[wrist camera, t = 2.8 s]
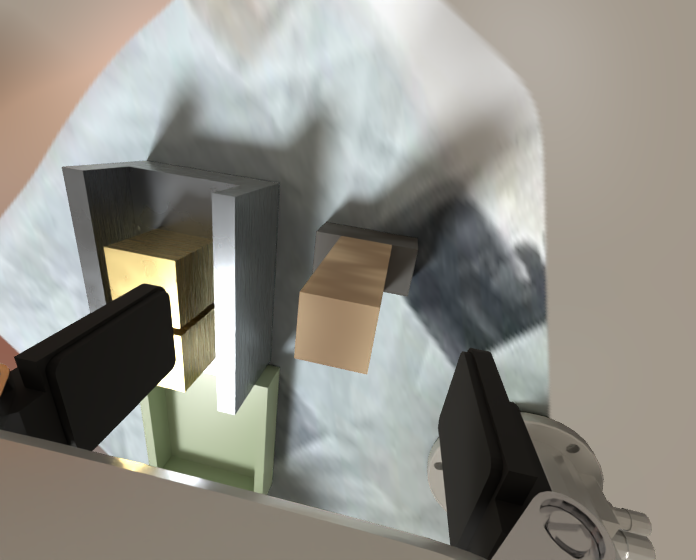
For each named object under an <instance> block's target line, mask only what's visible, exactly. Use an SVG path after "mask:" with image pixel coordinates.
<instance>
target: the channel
mask: <svg viewBox="0 0 696 560" xmlns="http://www.w3.org/2000/svg"><path fill="white" fill-rule="evenodd" d="M62 171H63V176H64V181H65V186H66V191H67V196H68V201H69V206H70V211H71V216H72V221H73V227H74V232H75V237H76V242H77V247H78V252H79V257H80V262H81V267H82V272H83V277H84V283H85V288H86V293H87V298H88V303H89V308H90V313H92V312H94V311H95V310H97V309H99V308H101V307H102V306H104V305H106V304H108V303H109V302H111V301H112V295H111V289H110V283H109V277H108V271H107V265H106V258H105V252H104V247H105V246H108V245H111V244H113V243H116V242H119V241H122V240H125V239H128V238H131V237H134V236H137V235H140V234H143V233H146V232H148V231H151V230H154V229H162V230H167V231H172V232H178V233H183V234H188V235H193V236H199V237H204V238H209V239H213V262H214V298H215V301H214V302H213V304H215V334H216V359H215V360H214V361H213V362H212V363H211V364H210V365H209V366H208V367H207V368H206V370H205V371H204V372H203V373H207V374H212V375H216V376H217V406H218V411H220V412H224V413H228V414H232V415H235V414H236V413H237V411H238V410H239V408H240V407H241V405H242V404H243V402H244V401H245V399H246V398H247V396H248V394H249V393H250V391H251V390H252V388H253V387H254V385H255V384H256V382H257V381H258V379H259V377H260V376H261V374H262V373H263V371H264V370H265V368H266V367H267V365H268V364H269V362H270V360H271V343H272V323H273V304H274V284H275V264H276V245H277V225H278V206H279V186H280V183H277V182H271V181H265V180H259V179H253V178H247V177H241V176H235V175H229V174H223V173H217V172H211V171H205V170H199V169H193V168H187V167H181V166H175V165H169V164H163V163H157V162H151V161H134V162H121V163H107V164H93V165H80V166H66V167H62Z"/></svg>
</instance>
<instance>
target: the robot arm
mask: <svg viewBox="0 0 696 560" xmlns="http://www.w3.org/2000/svg"><path fill="white" fill-rule="evenodd" d="M14 358H15V361H16V364H17V368H15V369H14V370H12V371H10V369H9V368H8V367H7V366H6V365H4V364H2V363H0V560H656V555H655V550H654V547H653V545H652V543H651V541H650V540H649V539H648V538H647V536H649V535H650V534H651V532H652V527H651V522H650V520H649V518H648V517H647V516H646V515H645V514H643V513H640V512H636V511H632V510H628V509H624V508H621V509H620V508H616V507H613V506H612V504H611V503H610V502H608V501H607V500H606V498H605V496H604V494H603V492H602V489H603V474H602V470H601V466H600V464H599V462H598V460H597V459H596V457H595V455H594V453H593V451H592V450H591V448H590V447H589V446H588V444H587V443H586V441H585V440H584V439H583V438H581V437H580V436H579V435H578V434H577V433H576V432H575V431H573V430H572V429H570V428H568V427H567V426H565V425H563V424H562V423H560V422H557V421H555V420H552V419H550V418H547V417H545V416H540V415H536V414H531V413H525V412H520V410H519V408H518V406H517V405H516V404H515V403H513V402H509V399H508V396H507V394H506V391H505V388H504V386H503V383H502V380H501V378H500V375H499V372H498V370H497V367H496V365H495V362H494V359H493V357H492V354H491V352H488V351H483V350H478V349H473V348H470V349H469V350H468V352H462V353H461V354H460V357H459V360H458V363H457V366H456V369H455V372H454V375H453V378H452V381H451V384H450V387H449V390H448V393H447V396H446V399H445V402H444V405H443V408H442V411H441V414H440V418H439V424H438V431H439V438H438V439H437V441H436V442H435V444H434V445H433V446H432V449H431V451H430V454H429V456H428V464H427V472H428V483H429V486H430V489H431V492H432V494H433V496H434V497H435V499H436V501H437V502H438V503H439V504H440V505H441V506H442V508H443V509H444V510H445V511H446V512H447V518H448V527H449V537H450V545H451V546H450V545H447V544H444V543H441V542H438V541H435V540H432V539H429V538H426V537H422V536H418V535H415V534H411V533H408V532H404V531H400V530H397V529H393V528H390V527H386V526H382V525H379V524H375V523H372V522H368V521H364V520H361V519H357V518H353V517H349V516H346V515H342V514H338V513H334V512H330V511H326V510H322V509H318V508H315V507H311V506H307V505H303V504H299V503H295V502H291V501H288V500H284V499H280V498H276V497H272V496H268V495H264V494H260V493H257V492H253V491H249V490H245V489H241V488H237V487H233V486H229V485H225V484H221V483H217V482H213V481H209V480H205V479H201V478H197V477H193V476H189V475H185V474H181V473H178V472H174V471H170V470H166V469H162V468H158V467H154V466H150V465H146V464H142V463H138V462H134V461H130V460H125V459H121V458H117V457H113V456H109V455H105V454H101V453H97V452H93V450H94V449H95V448H96V447H97V446H98V445H99V444H100V443H101V442H102V441H103V440H104V439H105V438H106V437H107V436H108V435H109V434H110V432H111V431H112V430H113V429H114V428H115V427H116V426H117V425H118V424H119V423H120V422H121V421H122V420H123V419H124V418H125V417H126V416H127V415H128V414H129V413H130V412H131V411H132V410H133V409H134V408H135V407H136V406H137V405H138V404H139V403H140V402H141V401H142V400H143V399H144V398H145V397H146V396H147V395H148V394H149V393H150V392H151V391H152V390H153V389H154V388H155V387H156V386H157V385H158V384H159V383H160V382H161V381H162V380H163V379H164V378H165V377H166V376H167V375H168V374H169V373H170V372H171V371H172V369H173V368H174V366H175V364H176V352H175V342H174V332H173V323H172V313H171V303H170V296H169V294H168V293H167V292H166V290H165V289H164V288H163V287H162V286H157V285H152V284H147V283H143V284H141V285H139V286H137V287H135V288H134V289H132V290H130V291H128V292H127V293H125V294H123V295H121V296H120V297H118V298H116V299H114V300H113V301H111V302H109V303H108V304H106V305H104V306H102V307H101V308H99V309H97V310H95V311H94V312H92V313H90V314H88V315H87V316H85V317H83V318H81V319H80V320H78V321H76V322H74V323H73V324H71V325H69V326H67V327H66V328H64V329H62V330H60V331H59V332H57V333H55V334H53V335H52V336H50V337H48V338H46V339H45V340H43V341H41V342H39V343H38V344H36V345H34V346H32V347H31V348H29V349H27V350H25V351H24V352H22V353H20V354H18V355H17V356H15V357H14ZM622 529H623V530H622Z"/></svg>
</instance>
